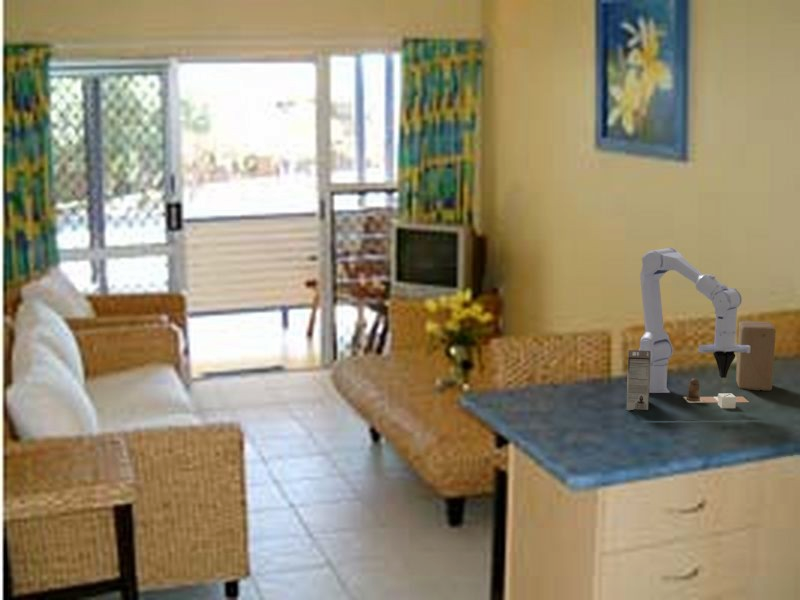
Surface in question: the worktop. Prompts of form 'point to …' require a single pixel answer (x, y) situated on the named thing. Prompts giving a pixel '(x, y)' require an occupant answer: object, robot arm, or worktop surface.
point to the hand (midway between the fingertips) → (722, 376)
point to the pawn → (693, 390)
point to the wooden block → (756, 355)
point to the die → (726, 400)
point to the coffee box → (638, 379)
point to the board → (714, 400)
